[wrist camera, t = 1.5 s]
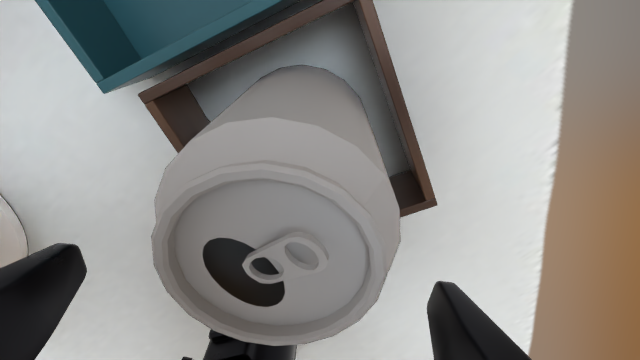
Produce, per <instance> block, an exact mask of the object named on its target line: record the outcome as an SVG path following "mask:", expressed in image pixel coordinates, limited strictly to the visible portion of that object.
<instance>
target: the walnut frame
mask: <svg viewBox="0 0 640 360" xmlns="http://www.w3.org/2000/svg"><path fill="white" fill-rule="evenodd" d="M353 1H354V2H353ZM351 2H353V4H354V7H355V10H356V13H357V16H358V19H359V22H360V25H361V28H362V31H363V33H364V36H365V39H366V42H367V45H368V48H369V51H370V54H371V57H372V60H373V63H374V66H375V68H376V71H377V74H378V77H379V80H380V83H381V86H382V89H383V92H384V95H385V98H386V100H387V103H388V106H389V109H390V112H391V115H392V118H393V121H394V124H395V127H396V130H397V132H398V135H399V138H400V141H401V144H402V147H403V150H404V153H405V156H406V159H407V162H408V164H409V167H410V170H408V171H406V172H403V173H400V174H397V175H394V176H392V177H389V180H390V183H391V186H392V188H393V191H394V194H395V197H396V200H397V203H398V206H399V209H400V217H403V216H406V215H409V214H412V213H415V212H418V211H421V210H425V209H428V208H431V207H434V206H437V201H436V198H435V195H434V192H433V189H432V186H431V183H430V179H429V176H428V173H427V170H426V167H425V164H424V161H423V157H422V154H421V151H420V148H419V145H418V142H417V139H416V135H415V132H414V129H413V126H412V123H411V120H410V117H409V113H408V110H407V107H406V104H405V101H404V98H403V95H402V91H401V88H400V85H399V82H398V79H397V76H396V73H395V69H394V66H393V63H392V60H391V57H390V54H389V51H388V47H387V44H386V41H385V38H384V35H383V32H382V29H381V25H380V22H379V19H378V16H377V13H376V10H375V7H374V3H373V0H322V1H320V2H319V3H317V4H315V5H313V6H311V7H309V8H307V9H305V10H303V11H301V12H299V13H297V14H295V15H293V16H291V17H289V18H287V19H285V20H283V21H281V22H279V23H277V24H275V25H273V26H271V27H269V28H267V29H265V30H263V31H261V32H259V33H257V34H255V35H253V36H251V37H250V38H248V39H246V40H244V41H242V42H240V43H238V44H236V45H234V46H232V47H230V48H228V49H226V50H224V51H222V52H220V53H218V54H216V55H214V56H212V57H210V58H208V59H206V60H204V61H202V62H200V63H198V64H196V65H194V66H192V67H190V68H188V69H186V70H184V71H182V72H181V73H179V74H177V75H175V76H173V77H171V78H169V79H167V80H165V81H163V82H161V83H159V84H157V85H155V86H153V87H151V88H149V89H147V90H145V91H143V92H141V93H139V94H138V96H139V97H140V99H141V100H142V102H143V103H144V104H145V106H146V107H147V109H148V110H149V112H150V113H151V115H152V116H153V118H154V119H155V120H156V122H157V123H158V125H159V126H160V128H161V129H162V131H163V132H164V134H165V135H166V136H167V138H168V139H169V141H170V142H171V144H172V145H173V147H174V148H175V149H176V151H177V152H178V154H179V152H180V151H181V150H182V149H183V148H184V147H185V146H186V145H187V144H188V142H189V141H190V140H191V139H193V138H194V137H195V136H196V135H197V134H198V133H199V132H201V131H202V130H203V129H204V128H205V127H206V126H207V125H208V124H210V122H209V121H208V119H207V118H206V116H205V114H204V113H203V111H202V109H201V108H200V106H199V105H198V103H197V101H196V100H195V98H194V96H193V95H192V93H191V91H190V90H189V88H188V87H187V85H186V84H188V83H190V82H192V81H194V80H196V79H198V78H200V77H202V76H204V75H206V74H208V73H210V72H212V71H214V70H216V69H218V68H220V67H222V66H224V65H226V64H228V63H230V62H232V61H234V60H236V59H238V58H240V57H242V56H244V55H246V54H248V53H250V52H252V51H254V50H256V49H258V48H260V47H262V46H264V45H266V44H268V43H271V42H273V41H275V40H277V39H279V38H281V37H283V36H285V35H287V34H289V33H291V32H293V31H295V30H297V29H299V28H301V27H303V26H305V25H307V24H309V23H311V22H313V21H315V20H317V19H319V18H321V17H323V16H325V15H327V14H329V13H331V12H333V11H335V10H337V9H339V8H341V7H343V6H345V5H347V4H349V3H351Z"/></svg>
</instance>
